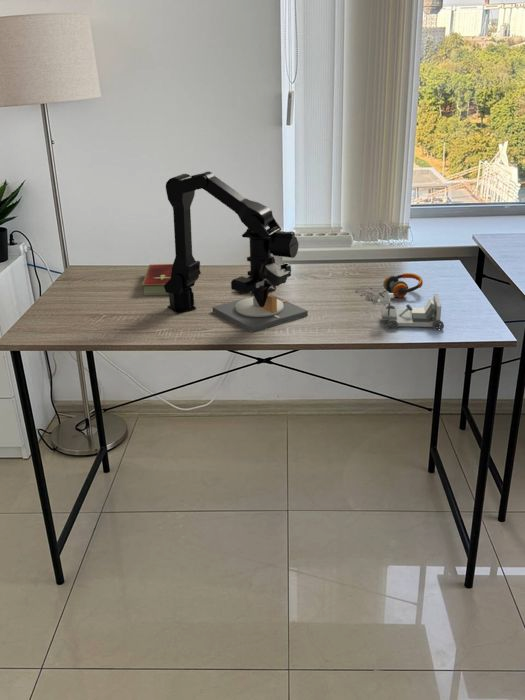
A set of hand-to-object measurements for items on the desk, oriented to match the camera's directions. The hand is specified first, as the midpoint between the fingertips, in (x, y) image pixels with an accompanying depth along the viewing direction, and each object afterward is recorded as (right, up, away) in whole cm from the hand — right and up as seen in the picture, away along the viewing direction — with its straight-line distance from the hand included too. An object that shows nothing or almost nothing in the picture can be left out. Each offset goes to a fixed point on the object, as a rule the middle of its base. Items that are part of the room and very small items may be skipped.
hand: (261, 306), depth 207 cm
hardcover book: (-32, +9, +34) cm, 48 cm away
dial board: (-1, -1, +8) cm, 8 cm away
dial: (-1, 0, +7) cm, 7 cm away
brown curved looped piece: (-2, +7, +27) cm, 28 cm away
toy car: (+41, -5, 0) cm, 42 cm away
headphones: (+40, +5, +20) cm, 45 cm away
